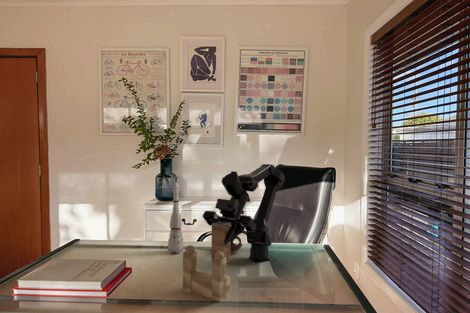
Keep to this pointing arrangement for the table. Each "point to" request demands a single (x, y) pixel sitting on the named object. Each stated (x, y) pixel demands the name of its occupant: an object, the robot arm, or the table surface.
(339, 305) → the table surface
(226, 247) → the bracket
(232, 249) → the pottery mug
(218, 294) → the wooden block tower
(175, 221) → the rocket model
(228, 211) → the robot arm
